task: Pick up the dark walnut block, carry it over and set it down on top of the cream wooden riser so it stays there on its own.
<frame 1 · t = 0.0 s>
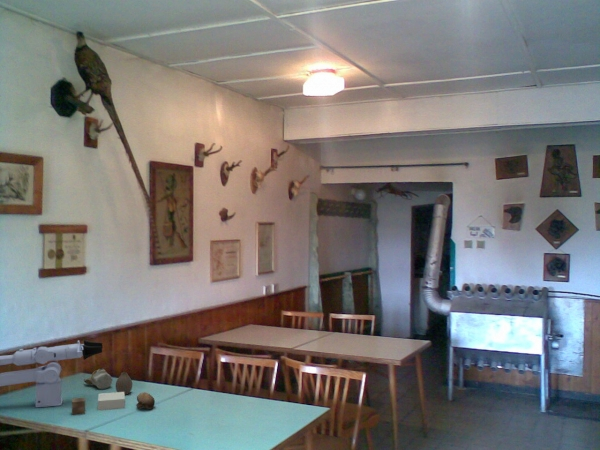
hand: (102, 347, 239), 22 cm above the table, fingers open, 7 cm apart
walnut block: (78, 412, 224), on the table
riser: (111, 406, 233), on the table
ceramic sculpture: (99, 386, 259), on the table
mushroom: (145, 408, 230), on the table
vase: (123, 394, 249), on the table
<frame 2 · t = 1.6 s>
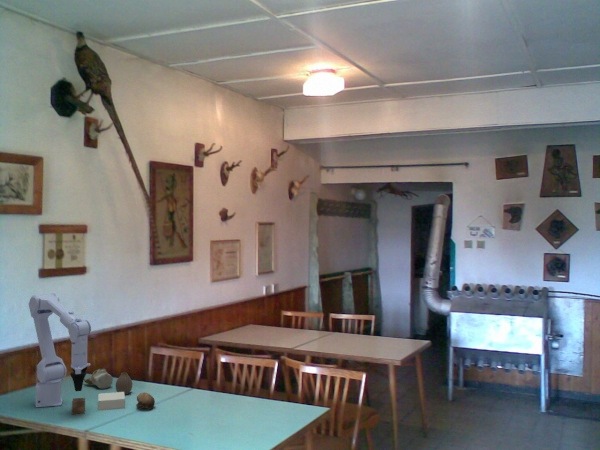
hand: (78, 388, 224), 9 cm above the table, fingers open, 7 cm apart
nothing on the table moved.
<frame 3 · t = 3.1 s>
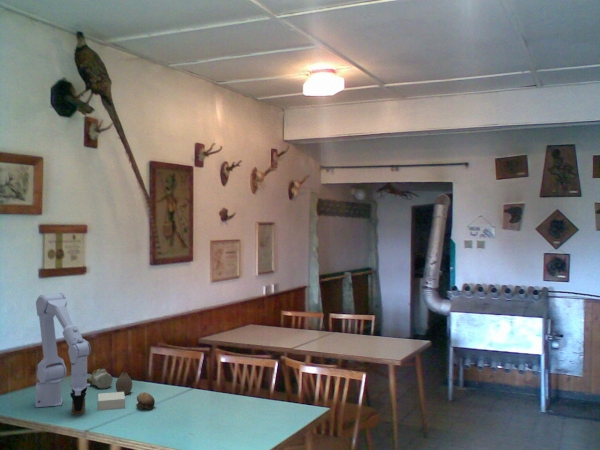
hand: (78, 408, 224), 1 cm above the table, fingers closed on walnut block, 4 cm apart
walnut block: (78, 412, 224), on the table, touching gripper
everything else where it was.
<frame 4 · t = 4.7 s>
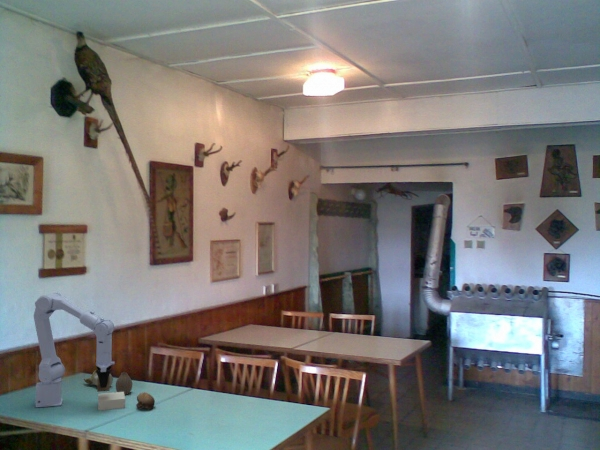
hand: (103, 385, 230), 8 cm above the table, fingers closed on walnut block, 4 cm apart
walnut block: (103, 389, 230), point 7 cm above the table, touching gripper
everything else where it was.
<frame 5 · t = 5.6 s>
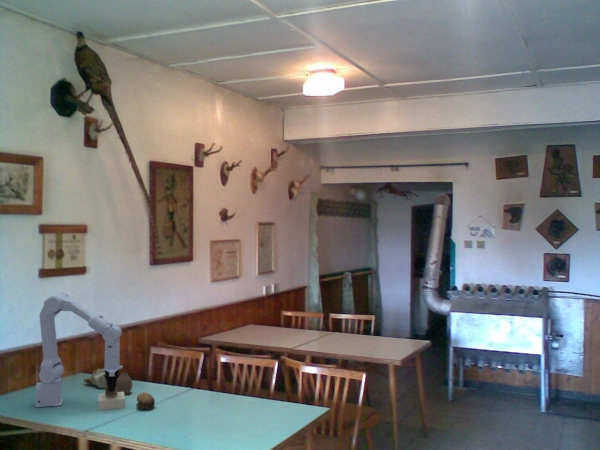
hand: (111, 389, 233), 6 cm above the table, fingers closed on walnut block, 4 cm apart
walnut block: (111, 393, 233), point 5 cm above the table, touching gripper
everything else where it was.
when the fingers open (6 cm above the table, at t = 6.3 s): walnut block drops 1 cm, resting on riser.
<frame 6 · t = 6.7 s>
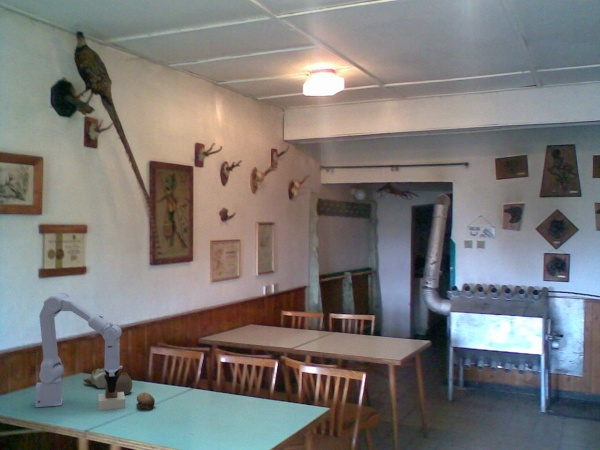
hand: (111, 389, 233), 6 cm above the table, fingers open, 7 cm apart
walnut block: (111, 396, 233), point 4 cm above the table, touching riser
riser: (111, 406, 233), on the table, touching walnut block
everything else where it was.
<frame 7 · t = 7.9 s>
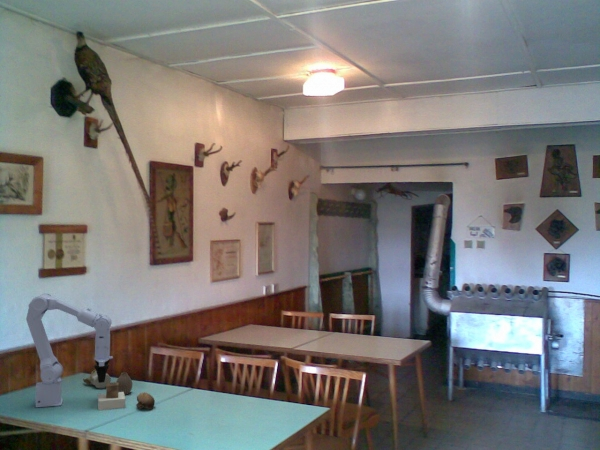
hand: (101, 379, 236), 9 cm above the table, fingers open, 7 cm apart
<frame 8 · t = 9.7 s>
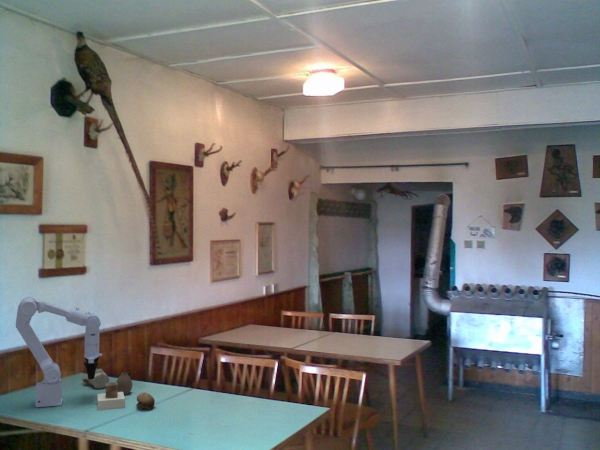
hand: (91, 376, 240), 9 cm above the table, fingers open, 7 cm apart
at the end: walnut block 0.3 cm off-centre on the riser, point 4.0 cm above the riser's base; walnut block tilted 0°; walnut block touching riser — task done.
